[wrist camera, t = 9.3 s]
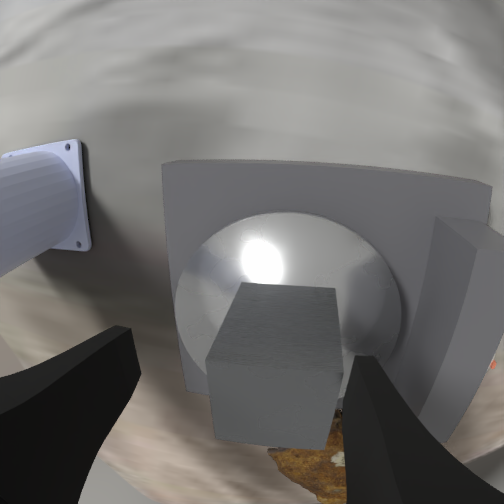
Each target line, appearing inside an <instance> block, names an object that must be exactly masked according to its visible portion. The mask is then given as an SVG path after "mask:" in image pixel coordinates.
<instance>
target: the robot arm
mask: <svg viewBox="0 0 504 504" xmlns="http://www.w3.org/2000/svg"><path fill="white" fill-rule="evenodd" d="M69 144H70V149H69ZM79 242H80V243H81V245H80V243H79ZM91 247H92V243H91V237H90V230H89V223H88V215H87V207H86V198H85V188H84V177H83V164H82V148H81V142H80V140H78V139H72V140H66V141H60V142H55V143H50V144H45V145H40V146H35V147H31V148H26V149H22V150H17V151H13V152H9V153H5V154H3V156H2V159H0V277H2V276H4V275H5V274H7V273H8V272H10V271H12V270H13V269H15V268H17V267H18V266H20V265H22V264H24V263H25V262H27V261H29V260H30V259H32V258H34V257H36V256H37V255H39V254H41V253H43V252H44V251H46V250H48V249H50V248H52V249H64V250H75V251H88V250H90V249H91ZM140 376H141V370H140V366H139V362H138V358H137V353H136V349H135V345H134V340H133V336H132V331H131V328H126V327H121V326H114V327H112V328H109V329H107V330H105V331H103V332H101V333H99V334H97V335H95V336H94V337H92V338H90V339H88V340H86V341H84V342H82V343H80V344H79V345H77V346H75V347H73V348H71V349H69V350H67V351H65V352H63V353H61V354H59V355H57V356H55V357H53V358H51V359H49V360H47V361H44V362H42V363H40V364H38V365H36V366H33V367H31V368H28V369H26V370H23V371H20V372H17V373H15V374H12V375H8V376H4V377H1V378H0V504H78V501H79V498H80V495H81V492H82V489H83V486H84V484H85V481H86V479H87V476H88V473H89V471H90V469H91V466H92V464H93V462H94V459H95V457H96V455H97V453H98V451H99V449H100V447H101V445H102V444H103V442H104V440H105V439H106V437H107V435H108V434H109V432H110V431H111V429H112V427H113V426H114V424H115V423H116V421H117V419H118V418H119V416H120V415H121V413H122V411H123V410H124V408H125V407H126V405H127V403H128V402H129V400H130V398H131V396H132V394H133V392H134V390H135V388H136V385H137V383H138V381H139V378H140ZM342 435H343V447H344V459H345V472H346V487H347V500H346V504H504V493H502V492H500V491H499V490H497V489H496V488H494V487H493V486H490V484H488V483H486V482H485V481H484V480H482V479H481V478H479V477H478V476H477V475H475V474H474V473H472V472H471V471H470V470H469V469H468V468H467V467H465V466H464V465H463V464H462V463H461V462H459V461H458V460H457V459H456V458H455V457H454V456H453V455H451V454H450V453H449V452H448V451H447V450H446V449H445V448H444V447H443V446H442V445H441V444H440V443H439V442H438V441H437V440H436V439H435V438H434V437H433V436H432V434H431V433H430V432H429V431H428V430H427V429H426V428H425V426H424V425H423V424H422V423H421V421H420V420H419V419H418V418H417V417H416V415H415V414H414V413H413V411H412V410H411V409H410V407H409V406H408V405H407V403H406V402H405V400H404V399H403V398H402V396H401V395H400V394H399V392H398V391H397V389H396V388H395V386H394V385H393V383H392V382H391V380H390V379H389V377H388V376H387V374H386V373H385V371H384V370H383V368H382V367H381V365H380V364H379V362H378V361H377V359H376V358H375V356H360V355H355V357H354V361H353V365H352V369H351V373H350V376H349V380H348V384H347V388H346V391H345V395H344V398H343V408H342Z"/></svg>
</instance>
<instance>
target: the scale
mask: <svg viewBox="0 0 504 504" xmlns="http://www.w3.org/2000/svg"><path fill="white" fill-rule="evenodd" d="M162 184H163V201H164V216H165V229H166V241H167V252H168V262H169V272H170V281H171V290H172V298H173V306H174V314H175V297H176V291H177V287H178V283H179V279H180V277H181V275H182V272H183V270H184V268H185V266H186V265H187V263H188V262H189V260H190V258H191V257H192V256H193V255H194V253H195V252H196V251H197V250H198V249H199V248H200V246H201V245H202V244H203V243H204V242H205V241H206V240H207V239H209V238H210V237H211V236H212V235H213V234H214V233H216V232H217V231H218V230H220V229H222V228H223V227H225V226H226V225H228V224H230V223H232V222H234V221H236V220H239V219H241V218H243V217H246V216H250V215H253V214H257V213H261V212H267V211H274V210H297V211H305V212H311V213H315V214H319V215H323V216H326V217H329V218H331V219H334V220H336V221H339V222H341V223H343V224H345V225H346V226H348V227H350V228H352V229H353V230H355V231H356V232H358V233H359V234H360V235H361V236H363V237H364V238H365V239H366V240H368V241H369V242H370V243H371V244H372V246H373V247H374V248H375V249H376V250H377V251H378V252H379V254H380V255H381V256H382V258H383V259H384V261H385V262H386V264H387V266H388V268H389V270H390V272H391V274H392V276H393V278H394V280H395V282H396V285H397V288H398V292H399V295H400V302H401V325H400V331H399V335H398V338H397V341H396V344H395V347H394V349H393V351H392V353H391V354H390V356H389V358H388V360H387V361H386V362H385V364H384V365H383V366H382V368H383V370H384V371H385V373H386V374H387V376H388V377H389V379H390V380H391V382H392V383H393V385H394V386H395V388H396V389H397V391H398V392H399V394H400V395H401V396H402V398H403V399H404V400H405V402H406V403H407V405H408V406H409V407H410V409H411V410H412V411H413V413H414V414H415V415H416V417H417V418H418V419H419V420H420V421H421V423H422V424H423V425H424V426H425V428H426V429H427V430H428V431H429V432H430V433H431V434H432V436H433V437H434V438H435V439H436V440H437V441H438V442H439V443H444V442H447V440H448V439H449V437H450V436H451V434H452V433H453V431H454V430H455V428H456V426H457V425H458V423H459V421H460V420H461V418H462V416H463V415H464V413H465V411H466V410H467V408H468V406H469V404H470V402H471V401H472V399H473V397H474V395H475V393H476V391H477V389H478V388H479V386H480V384H481V382H482V380H483V378H484V376H485V374H486V373H487V371H488V370H489V368H490V367H491V369H494V368H495V366H496V362H495V361H494V357H495V354H496V350H497V347H498V345H499V343H500V340H501V338H502V335H503V333H504V236H503V235H501V234H500V233H498V232H497V231H495V230H494V229H492V228H491V227H489V226H487V221H488V215H489V209H490V202H491V195H492V186H490V185H487V184H484V183H482V182H479V181H476V180H470V179H464V178H458V177H452V176H445V175H438V174H431V173H424V172H416V171H408V170H400V169H391V168H382V167H371V166H360V165H348V164H335V163H320V162H301V161H276V160H178V161H172V162H168V163H164V164H162ZM175 322H176V318H175ZM176 329H177V336H178V343H179V349H180V356H181V362H182V368H183V374H184V380H185V386H186V391H188V392H193V393H198V394H204V395H209V388H208V380H207V375H206V374H205V373H204V372H203V371H202V370H201V369H200V368H199V366H198V365H197V364H196V363H195V362H194V360H193V359H192V357H191V356H190V355H189V353H188V352H187V350H186V348H185V346H184V344H183V342H182V339H181V337H180V334H179V331H178V327H177V323H176ZM343 398H344V396H343V397H341V398H339V399H338V400H337V405H336V408H339V409H342V408H343Z"/></svg>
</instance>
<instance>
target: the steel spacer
mask: <svg viewBox="0 0 504 504" xmlns="http://www.w3.org/2000/svg"><path fill="white" fill-rule="evenodd" d="M205 364H206V372H207V380H208V388H209V396H210V403H211V411H212V418H213V425H214V431H215V438H216V439H220V440H227V441H233V442H240V443H247V444H254V445H263V446H272V447H283V448H295V449H311V450H324V449H325V446H326V442H327V439H328V435H329V432H330V428H331V424H332V420H333V417H334V413H335V409H336V405H337V400H338V396H339V392H340V388H341V383H342V379H343V374H344V367H343V355H342V344H341V334H340V324H339V315H338V306H337V298H336V289H335V288H328V287H311V286H294V285H279V284H264V283H250V282H241V284H240V286H239V289H238V291H237V293H236V295H235V297H234V299H233V301H232V304H231V306H230V308H229V310H228V312H227V314H226V316H225V319H224V321H223V323H222V325H221V327H220V329H219V331H218V333H217V336H216V338H215V340H214V342H213V344H212V346H211V348H210V351H209V353H208V355H207V357H206V359H205Z"/></svg>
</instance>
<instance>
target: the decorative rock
mask: <svg viewBox="0 0 504 504" xmlns="http://www.w3.org/2000/svg"><path fill="white" fill-rule="evenodd" d="M267 453H268V455H270V456H271V457H272V458H273V460H275V461H276V463H277V466H278V470H279V471H280V472H281V473H282V474H284V475H285V476H286V477H288V478H289V479H290V480H291V481H293V482H295V483H297V484H300V485H301V486H302V487H304V488H305V489H308V490H309V491H310V492H312V493H314V494H315V495H316V496H317V500H318V501H319V502H321V503H322V504H343V503H346V500H347V487H346V472H345V459H344V447H343V435H342V415H341V412H340V411H339V410H335V413H334V417H333V420H332V424H331V428H330V432H329V435H328V439H327V442H326V446H325V449H324V450H311V449H295V448H283V447H281V448H278V449H275V448H268V451H267Z"/></svg>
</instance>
